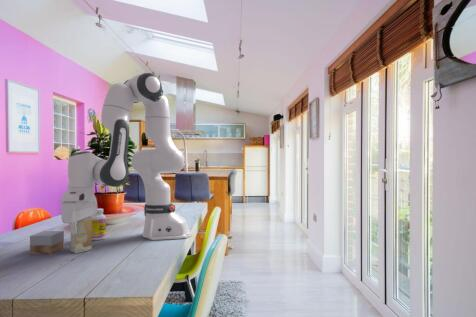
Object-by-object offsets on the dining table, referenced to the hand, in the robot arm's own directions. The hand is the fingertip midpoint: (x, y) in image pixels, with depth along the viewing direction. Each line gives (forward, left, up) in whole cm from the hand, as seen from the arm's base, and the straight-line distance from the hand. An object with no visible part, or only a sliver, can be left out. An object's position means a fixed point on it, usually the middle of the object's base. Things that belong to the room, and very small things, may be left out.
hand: (81, 230), depth 121 cm
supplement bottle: (+2, -18, -8) cm, 20 cm away
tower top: (+13, 0, -4) cm, 14 cm away
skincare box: (0, 0, -8) cm, 8 cm away
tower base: (+13, 0, -8) cm, 15 cm away
